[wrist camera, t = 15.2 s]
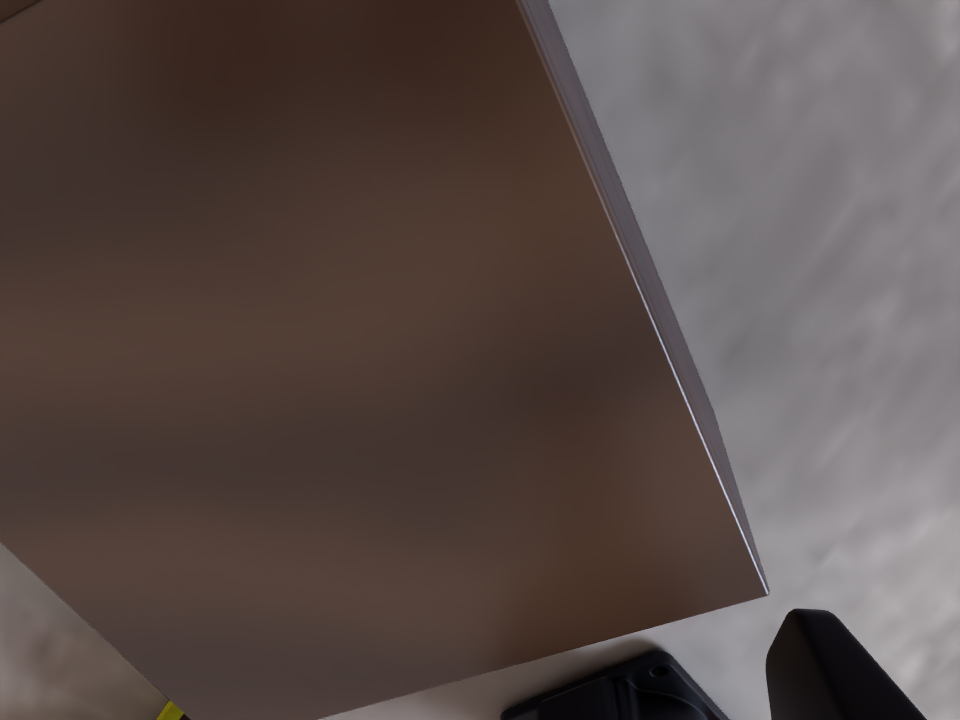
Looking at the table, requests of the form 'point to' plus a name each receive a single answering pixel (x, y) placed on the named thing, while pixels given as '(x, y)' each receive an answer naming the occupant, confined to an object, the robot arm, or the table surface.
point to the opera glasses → (172, 713)
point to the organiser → (339, 352)
